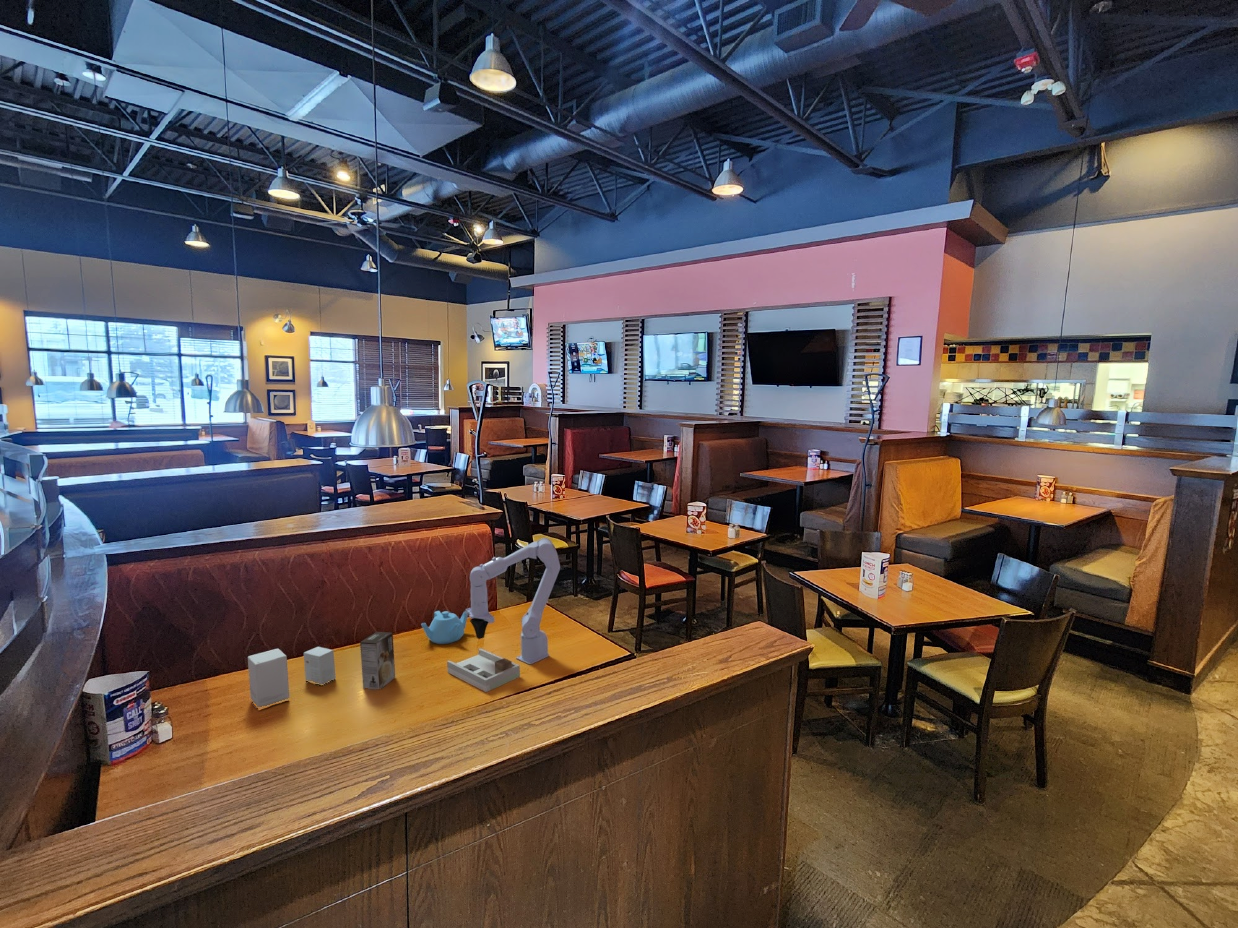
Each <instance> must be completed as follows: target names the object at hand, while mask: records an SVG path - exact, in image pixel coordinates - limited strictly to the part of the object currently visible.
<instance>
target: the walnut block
mask: <svg viewBox="0 0 1238 928" xmlns="http://www.w3.org/2000/svg"><path fill="white" fill-rule="evenodd" d="M502 658H503V659H501V660H498V661H496V662H495V674H497V673H500V672H502V671H504V670H506V669H509V668H511V667H512V662H513V661H512V660H509V659H508V658H506V657H502Z"/></svg>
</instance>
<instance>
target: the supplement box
mask: <svg viewBox="0 0 1238 928" xmlns="http://www.w3.org/2000/svg"><path fill="white" fill-rule="evenodd" d="M247 668H248V679H249V693H250V700H251V699H252V700H253V702H254V703H255V704H256V705H257V707H262V706H267V705H270V704H273V703H276V702H279V701H282V700H285V699H288V698H290V687H289V673H288V672H289V671H288V669H289V668H288V658H287V655H286V654H285V653H284V652H283V651H282V650H281V649H279V648H274V649H271V650H267V651H263V652H258V653H255V654H252V655H248V656H247Z"/></svg>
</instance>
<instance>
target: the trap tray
mask: <svg viewBox="0 0 1238 928" xmlns="http://www.w3.org/2000/svg"><path fill="white" fill-rule="evenodd" d="M503 658H504V657H501V656H499V655H497V654H494V653H493V652H490V651H488V650H485V649H483V648H481V647H480V648H478V654H476V655H474V656H472V657H469V658H466V659H464V660H462V661H458V662H453V660H447V661H446V665H447V673H448V674H449V675H452V676H454V677H455V678H457V679H459V680H461V681H464V682H466V683H467V684H469V685H471V686H472V687H474V688H477V689H478V690H481V691H483V692H485V693H487V692H490V691H492V690H495V689H496V688H498V687H502V686H503V685H505V684H508V683H510V682H511V681H513V680H515V679H516V680H517V679H518V678H520V677H521V673H520V672H521V671H520V670H521V667H520V665H519V664H517V663H516V662H513V661H512V667H511V668H509V669H506V670H504V671H502V672H500V673H497V674H495V662H496V661H498V660H501V659H503Z"/></svg>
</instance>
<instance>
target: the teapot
mask: <svg viewBox="0 0 1238 928" xmlns="http://www.w3.org/2000/svg"><path fill="white" fill-rule="evenodd" d="M468 618H469V615H466V610H464V611H463V613H462V615H461V617H460V618H459V616H457V614H455V613H452V612H450V611H449V610H448V611H447V610H446V611H442V612H441V611H440V610H436V611H434V613H433V620H432V621H431V623H430V625H429V626H428V625H427V623H426V622H422V623H421V624H420V625H421V627H422V629H423V631H424V633H425V635H426V637H427V638H428V639H429V640H430V641H431V642H432V643H434V644H438V645H445V644H447V645H448V644H452V643H455V642H457V641H459V640H460V639H461V638H463V636H464V634H465V629H466V625H467V622H468V621H467V620H468Z"/></svg>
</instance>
